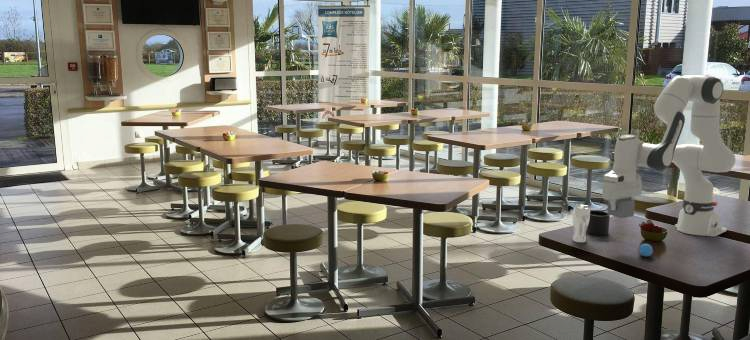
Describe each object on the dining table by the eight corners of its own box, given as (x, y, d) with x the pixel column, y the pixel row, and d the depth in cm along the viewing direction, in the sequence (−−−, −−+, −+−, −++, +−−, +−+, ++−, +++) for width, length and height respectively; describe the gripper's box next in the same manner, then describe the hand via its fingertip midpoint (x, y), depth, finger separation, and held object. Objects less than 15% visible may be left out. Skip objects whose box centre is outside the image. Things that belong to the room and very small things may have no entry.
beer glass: (589, 243, 267) (591, 209, 264) (571, 242, 268) (574, 208, 266) (587, 239, 274) (589, 205, 271) (570, 237, 275) (572, 204, 272)
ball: (643, 253, 255) (645, 241, 254) (654, 257, 251) (656, 244, 250) (635, 255, 253) (636, 243, 252) (646, 259, 248) (647, 246, 247)
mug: (611, 230, 287) (612, 211, 285) (606, 237, 276) (607, 217, 275) (589, 227, 291) (591, 208, 289) (583, 234, 281) (585, 214, 279)
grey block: (618, 212, 265) (620, 196, 264) (633, 216, 259) (635, 200, 258) (606, 214, 262) (608, 198, 260) (621, 218, 255) (623, 202, 254)
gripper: (634, 171, 265) (631, 204, 267) (600, 176, 255) (597, 209, 257) (647, 174, 260) (644, 207, 262) (613, 178, 249) (610, 213, 252)
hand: (621, 208), depth 260 cm, fingers closed on grey block, 7 cm apart
